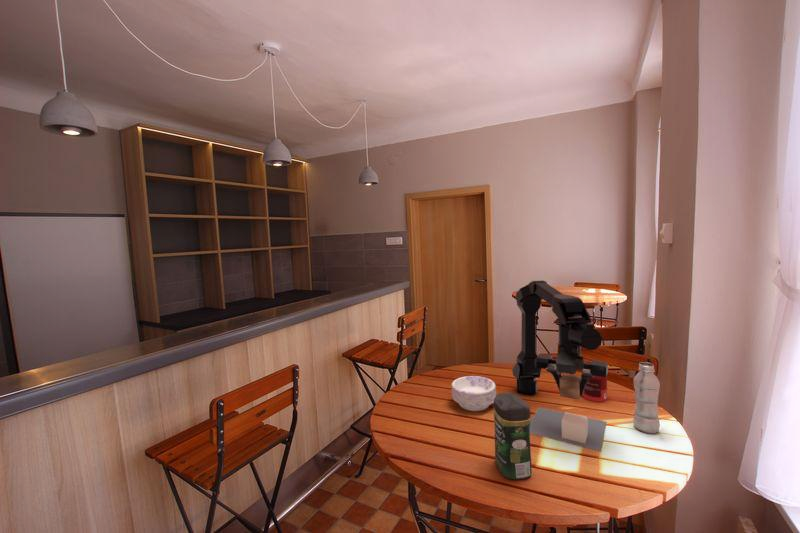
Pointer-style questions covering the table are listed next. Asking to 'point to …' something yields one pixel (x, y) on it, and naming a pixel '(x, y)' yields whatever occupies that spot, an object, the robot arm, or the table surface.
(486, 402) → the paper bowls
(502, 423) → the coffee jar
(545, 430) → the build mat
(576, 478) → the table surface
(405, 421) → the table surface
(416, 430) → the table surface
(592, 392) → the canned food
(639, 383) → the plastic bottle
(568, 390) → the walnut block
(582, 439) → the cream block
